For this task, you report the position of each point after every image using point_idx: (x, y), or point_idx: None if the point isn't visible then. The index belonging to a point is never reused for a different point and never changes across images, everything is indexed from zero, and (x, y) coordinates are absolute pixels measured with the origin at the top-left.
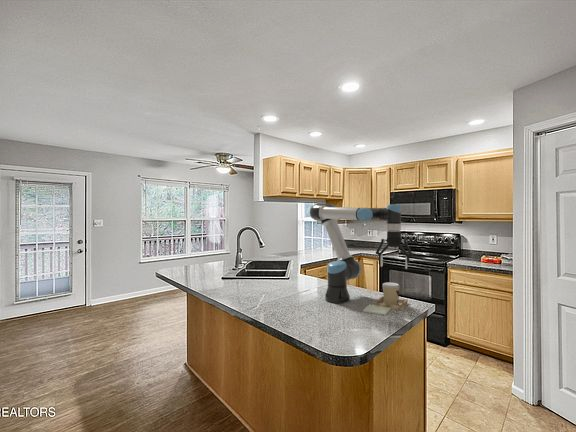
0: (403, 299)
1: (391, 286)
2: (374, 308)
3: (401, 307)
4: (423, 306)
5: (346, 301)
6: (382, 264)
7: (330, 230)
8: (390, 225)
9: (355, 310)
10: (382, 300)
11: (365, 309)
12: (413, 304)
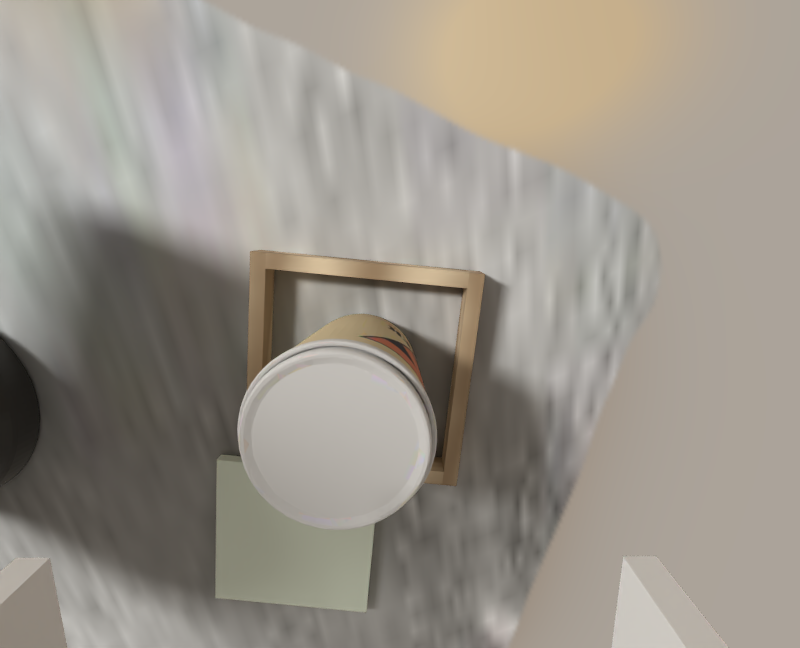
0: (450, 276)
1: (359, 524)
2: (275, 537)
3: (453, 482)
4: (604, 310)
5: (29, 448)
6: (15, 629)
7: None
8: None
9: (168, 583)
10: (273, 280)
11: (226, 577)
12: (527, 286)
